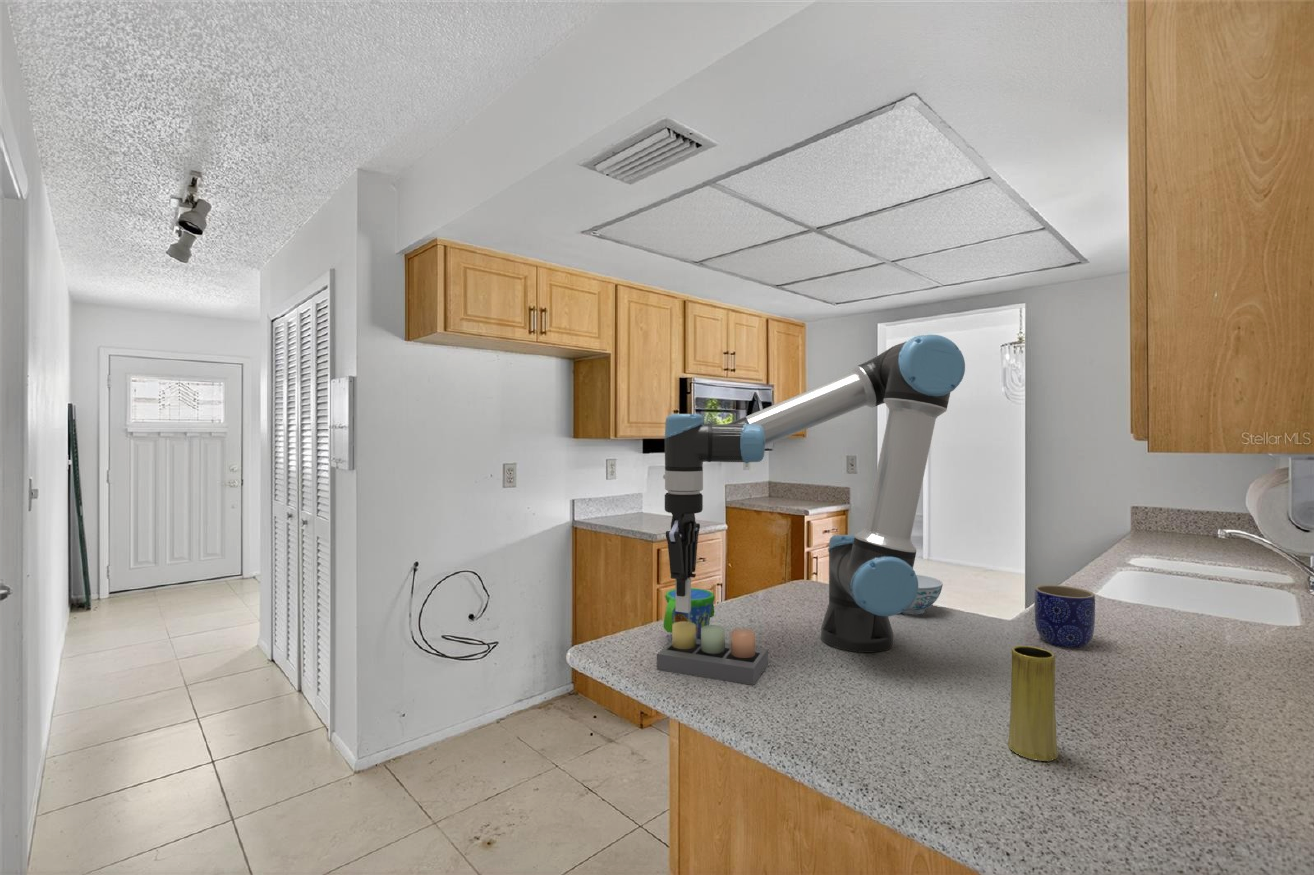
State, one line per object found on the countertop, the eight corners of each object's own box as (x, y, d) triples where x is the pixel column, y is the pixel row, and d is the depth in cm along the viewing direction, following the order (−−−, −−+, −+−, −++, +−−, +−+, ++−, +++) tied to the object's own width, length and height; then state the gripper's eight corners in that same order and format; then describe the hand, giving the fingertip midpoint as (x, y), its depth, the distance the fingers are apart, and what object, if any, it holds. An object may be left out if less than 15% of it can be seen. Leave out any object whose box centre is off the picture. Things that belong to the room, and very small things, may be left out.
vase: (1066, 754, 88) (1066, 653, 88) (1044, 767, 85) (1044, 662, 85) (1021, 736, 93) (1021, 641, 93) (999, 748, 90) (999, 649, 90)
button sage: (727, 647, 123) (727, 626, 123) (720, 654, 118) (720, 633, 118) (705, 644, 124) (705, 624, 124) (697, 651, 120) (697, 630, 120)
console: (768, 664, 123) (768, 648, 123) (753, 685, 113) (753, 668, 113) (677, 650, 130) (677, 636, 130) (656, 669, 120) (656, 653, 120)
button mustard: (698, 643, 125) (698, 623, 125) (690, 650, 121) (690, 629, 121) (677, 640, 127) (677, 620, 127) (668, 647, 123) (668, 627, 123)
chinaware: (872, 601, 167) (872, 572, 167) (931, 603, 165) (931, 574, 165) (887, 618, 152) (887, 586, 152) (951, 620, 151) (951, 588, 150)
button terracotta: (757, 651, 120) (757, 630, 120) (751, 659, 116) (751, 638, 116) (734, 648, 122) (734, 627, 122) (727, 656, 118) (727, 634, 118)
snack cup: (696, 626, 147) (696, 583, 146) (731, 637, 139) (731, 591, 139) (647, 642, 136) (647, 595, 136) (682, 654, 128) (682, 605, 128)
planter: (1101, 654, 127) (1101, 599, 127) (1039, 647, 131) (1039, 594, 131) (1087, 638, 138) (1087, 587, 137) (1030, 632, 142) (1030, 582, 141)
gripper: (678, 488, 131) (677, 600, 131) (652, 494, 119) (652, 617, 119) (712, 490, 128) (711, 605, 128) (689, 496, 116) (689, 622, 116)
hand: (683, 611), depth 124 cm, fingers closed
